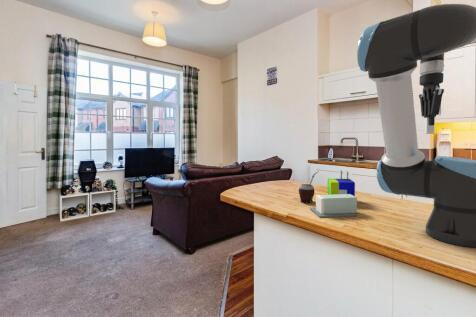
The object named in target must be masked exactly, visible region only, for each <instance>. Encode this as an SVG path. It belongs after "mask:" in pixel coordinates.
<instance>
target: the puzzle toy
mask: <svg viewBox="0 0 476 317" xmlns="http://www.w3.org/2000/svg"><path fill="white" fill-rule="evenodd" d="M335 194H351V195H353V196H355V195H356V182H355V181H354V180H352V179H351V178H327V195H335ZM355 197H356V196H355Z"/></svg>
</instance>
